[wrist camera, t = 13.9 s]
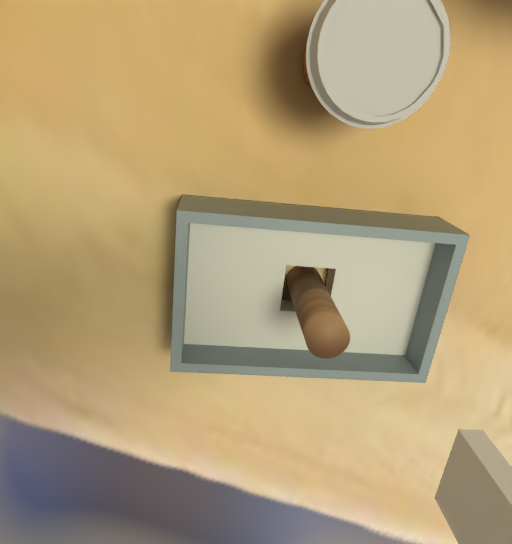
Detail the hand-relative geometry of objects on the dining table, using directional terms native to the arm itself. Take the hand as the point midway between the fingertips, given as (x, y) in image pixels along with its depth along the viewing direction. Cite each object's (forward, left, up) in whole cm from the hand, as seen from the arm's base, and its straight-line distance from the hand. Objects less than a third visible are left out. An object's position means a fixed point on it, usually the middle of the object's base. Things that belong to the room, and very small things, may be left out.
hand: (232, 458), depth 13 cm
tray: (+9, -8, -33) cm, 35 cm away
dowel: (+9, -8, -33) cm, 35 cm away
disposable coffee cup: (+9, +13, -33) cm, 37 cm away
